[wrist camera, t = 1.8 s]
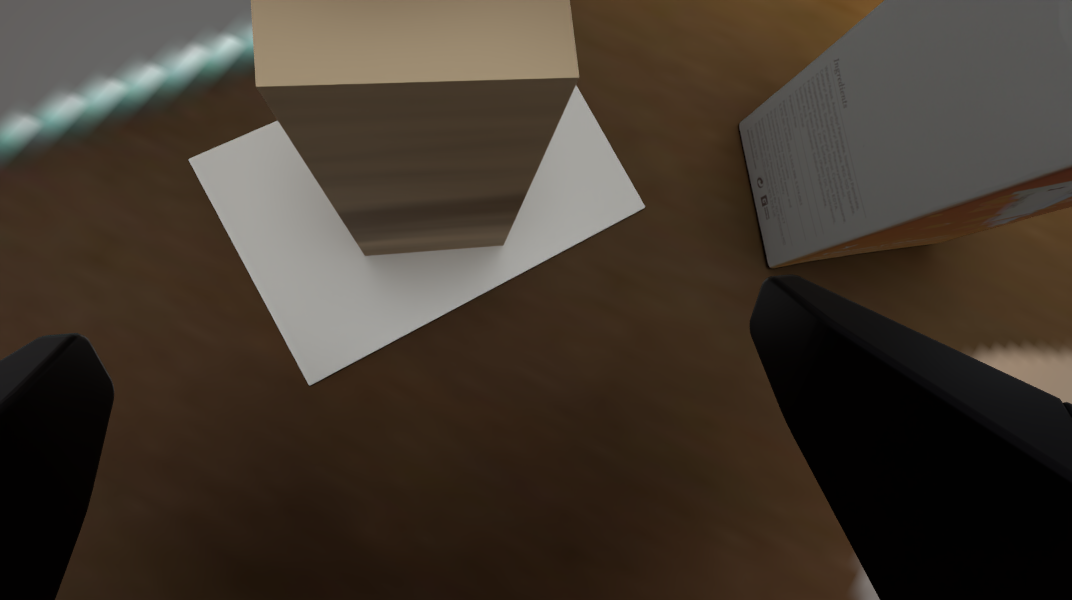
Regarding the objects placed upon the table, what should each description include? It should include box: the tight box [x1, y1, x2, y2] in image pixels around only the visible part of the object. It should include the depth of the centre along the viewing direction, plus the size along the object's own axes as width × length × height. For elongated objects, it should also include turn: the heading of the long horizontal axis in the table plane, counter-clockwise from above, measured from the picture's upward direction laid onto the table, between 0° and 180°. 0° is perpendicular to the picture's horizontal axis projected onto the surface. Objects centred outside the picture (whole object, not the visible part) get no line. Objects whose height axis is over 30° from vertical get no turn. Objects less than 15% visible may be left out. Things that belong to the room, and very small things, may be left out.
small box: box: [739, 0, 1072, 268], centre depth 18 cm, size 8×6×13 cm
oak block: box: [251, 0, 579, 256], centre depth 16 cm, size 5×5×12 cm
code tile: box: [188, 86, 645, 386], centre depth 22 cm, size 14×9×1 cm, turn 120°
